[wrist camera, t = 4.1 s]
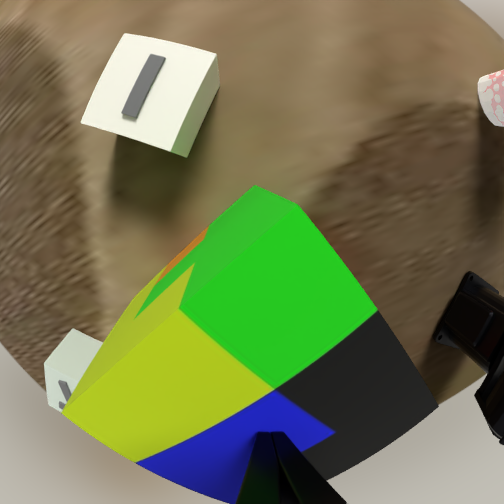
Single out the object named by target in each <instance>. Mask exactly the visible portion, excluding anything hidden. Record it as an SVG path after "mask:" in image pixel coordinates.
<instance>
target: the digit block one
mask: <svg viewBox="0 0 504 504" xmlns="http://www.w3.org/2000/svg"><path fill="white" fill-rule="evenodd" d="M219 86H220V80H219V71H218V61H217V54H215V53H211V52H208V51H204V50H201V49H197V48H194V47H190V46H186V45H182V44H178V43H174V42H169V41H165V40H160V39H155V38H150V37H145V36H139V35H133V34H126V33H124V35H123V37H122V38H121V40H120V42H119V43H118V45H117V47H116V49H115V50H114V52H113V54H112V56H111V58H110V60H109V61H108V63H107V65H106V67H105V69H104V71H103V73H102V75H101V77H100V79H99V81H98V83H97V85H96V87H95V90H94V92H93V94H92V96H91V99H90V101H89V103H88V106H87V108H86V110H85V113H84V115H83V118H82V120H81V123H82V124H86V125H89V126H93V127H96V128H99V129H103V130H106V131H109V132H112V133H115V134H119V135H122V136H125V137H128V138H131V139H134V140H137V141H140V142H143V143H146V144H149V145H152V146H155V147H158V148H161V149H164V150H167V151H169V152H172V153H175V154H178V155H181V156H183V157H186V158H187V157H188V155H189V152H190V150H191V147H192V145H193V143H194V140H195V138H196V136H197V133H198V131H199V129H200V127H201V124H202V122H203V120H204V118H205V116H206V113H207V111H208V109H209V107H210V105H211V103H212V101H213V99H214V97H215V95H216V92H217V90H218V88H219Z"/></svg>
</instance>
